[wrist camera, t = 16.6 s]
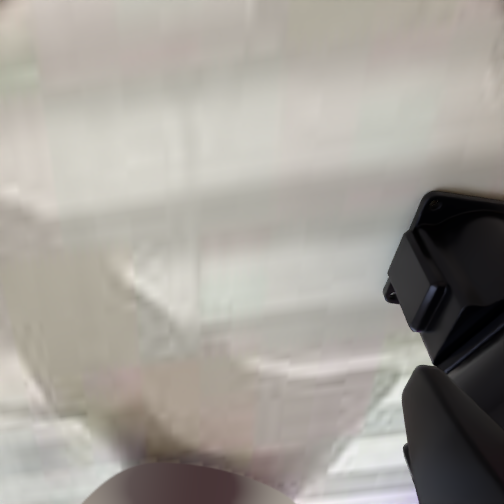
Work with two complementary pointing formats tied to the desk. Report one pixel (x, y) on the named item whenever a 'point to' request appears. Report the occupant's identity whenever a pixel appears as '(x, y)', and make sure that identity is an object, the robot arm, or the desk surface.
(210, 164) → the desk surface
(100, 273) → the desk surface
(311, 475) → the desk surface
